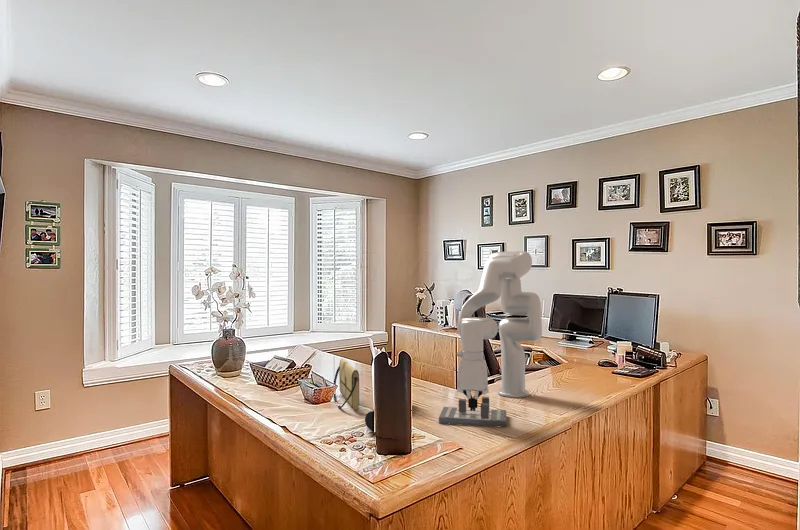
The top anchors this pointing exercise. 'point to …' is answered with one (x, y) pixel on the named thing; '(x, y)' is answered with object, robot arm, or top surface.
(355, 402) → the clutch purse
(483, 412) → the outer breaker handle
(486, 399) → the handle
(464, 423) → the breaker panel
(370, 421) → the end cap
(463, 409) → the handle
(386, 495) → the top surface
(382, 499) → the top surface
